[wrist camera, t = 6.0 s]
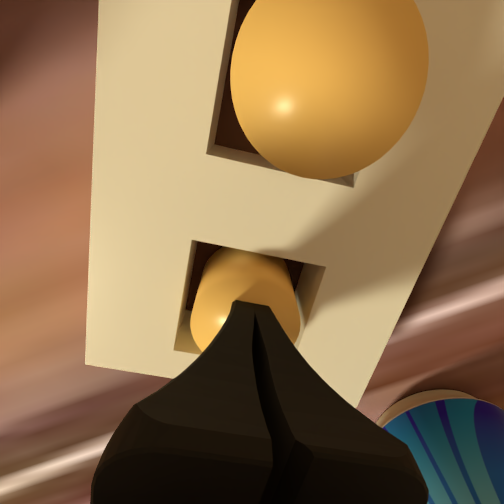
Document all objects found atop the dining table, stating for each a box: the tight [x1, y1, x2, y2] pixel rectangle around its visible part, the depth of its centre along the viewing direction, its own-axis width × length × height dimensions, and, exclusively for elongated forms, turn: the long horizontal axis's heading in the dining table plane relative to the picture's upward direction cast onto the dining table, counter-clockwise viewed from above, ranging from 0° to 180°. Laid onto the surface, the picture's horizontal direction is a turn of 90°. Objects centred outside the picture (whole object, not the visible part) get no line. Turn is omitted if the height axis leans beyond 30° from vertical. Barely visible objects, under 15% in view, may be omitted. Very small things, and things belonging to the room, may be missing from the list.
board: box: [85, 0, 504, 408], centre depth 11 cm, size 12×24×3 cm, turn 167°
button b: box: [230, 0, 429, 179], centre depth 8 cm, size 4×4×3 cm
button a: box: [190, 246, 301, 352], centre depth 14 cm, size 4×4×3 cm
